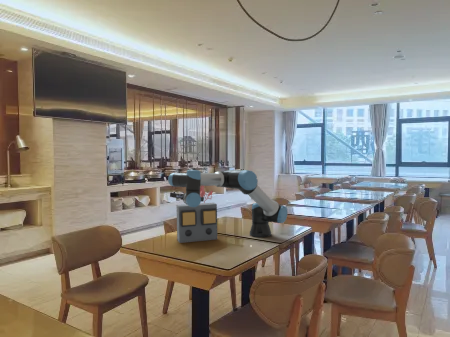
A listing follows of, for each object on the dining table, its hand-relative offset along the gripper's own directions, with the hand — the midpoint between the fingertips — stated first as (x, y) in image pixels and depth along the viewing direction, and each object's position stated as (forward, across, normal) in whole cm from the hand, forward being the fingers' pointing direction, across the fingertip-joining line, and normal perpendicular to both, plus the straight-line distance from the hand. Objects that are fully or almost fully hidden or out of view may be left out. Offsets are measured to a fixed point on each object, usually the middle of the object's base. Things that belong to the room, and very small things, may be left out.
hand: (185, 196), depth 213 cm
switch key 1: (+15, +7, -18) cm, 25 cm away
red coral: (+60, +25, -25) cm, 70 cm away
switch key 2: (+16, +21, -16) cm, 30 cm away
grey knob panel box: (+22, +16, -29) cm, 39 cm away
